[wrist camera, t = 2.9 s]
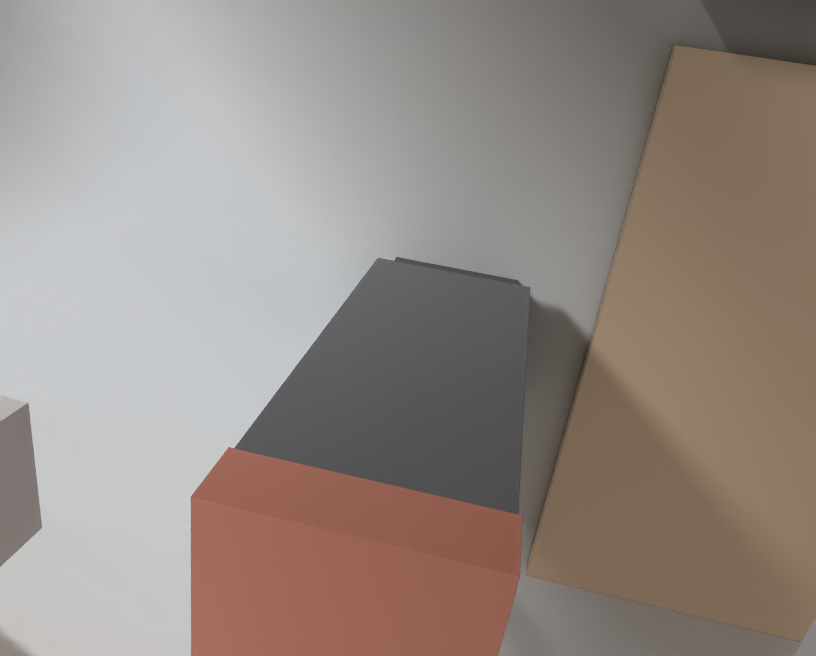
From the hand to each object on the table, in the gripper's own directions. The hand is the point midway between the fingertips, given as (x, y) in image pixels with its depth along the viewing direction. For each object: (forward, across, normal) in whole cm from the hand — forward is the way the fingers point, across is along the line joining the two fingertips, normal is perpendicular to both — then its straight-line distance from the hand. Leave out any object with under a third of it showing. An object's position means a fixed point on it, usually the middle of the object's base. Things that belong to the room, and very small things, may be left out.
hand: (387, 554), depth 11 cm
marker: (+9, 0, 0) cm, 9 cm away
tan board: (+9, +11, 0) cm, 14 cm away
